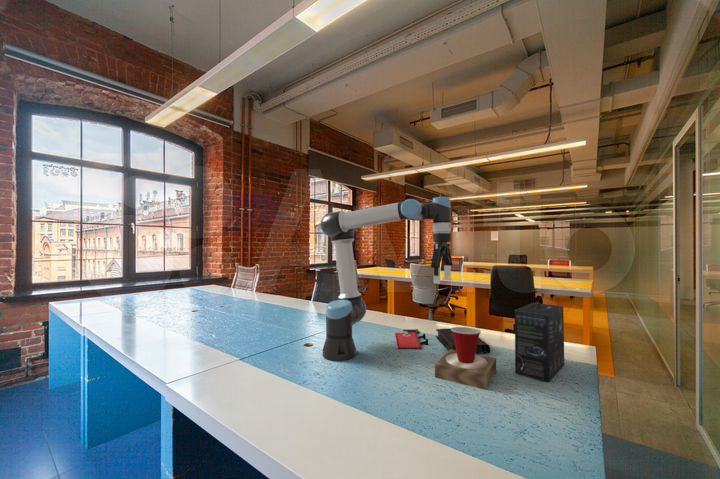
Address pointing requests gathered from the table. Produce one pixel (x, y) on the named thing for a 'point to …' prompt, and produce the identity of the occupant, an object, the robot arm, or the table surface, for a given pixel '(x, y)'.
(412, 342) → the red board with handle
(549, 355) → the headset box
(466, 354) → the plastic cup
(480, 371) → the walnut pedestal
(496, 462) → the table surface
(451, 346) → the diary
